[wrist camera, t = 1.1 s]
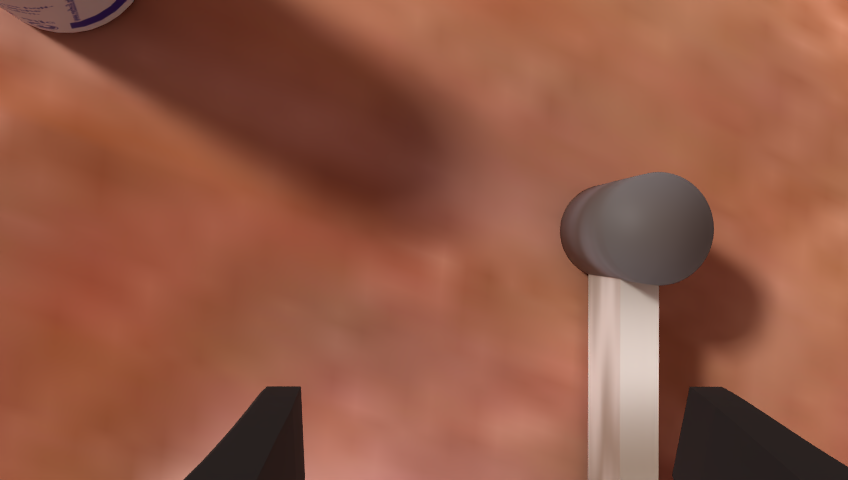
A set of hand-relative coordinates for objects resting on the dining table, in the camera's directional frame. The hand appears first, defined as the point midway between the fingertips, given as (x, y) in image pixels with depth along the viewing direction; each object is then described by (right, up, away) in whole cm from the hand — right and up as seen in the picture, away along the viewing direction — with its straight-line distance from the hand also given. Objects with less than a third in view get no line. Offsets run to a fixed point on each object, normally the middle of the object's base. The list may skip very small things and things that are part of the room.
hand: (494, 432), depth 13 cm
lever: (+5, -3, +11) cm, 13 cm away
